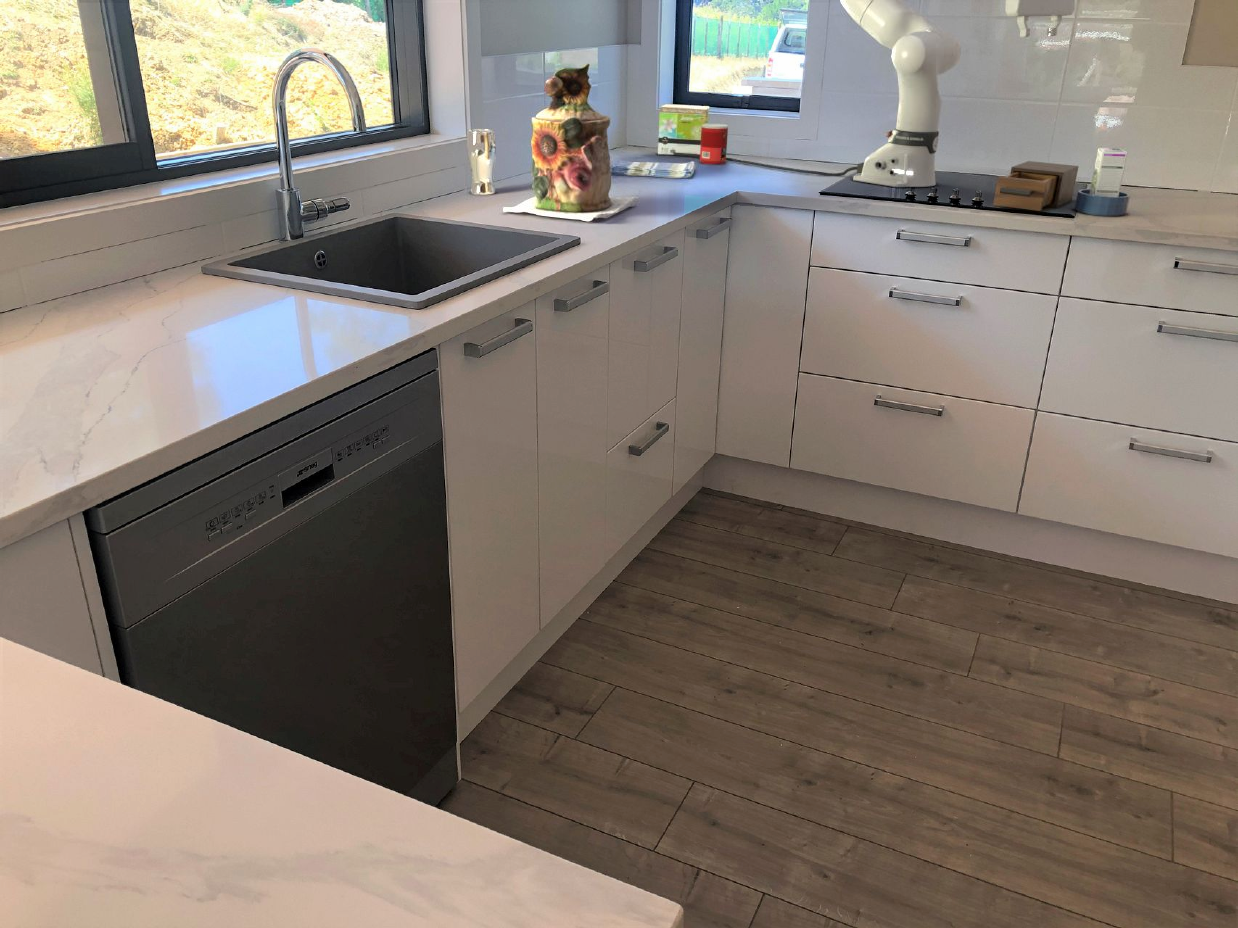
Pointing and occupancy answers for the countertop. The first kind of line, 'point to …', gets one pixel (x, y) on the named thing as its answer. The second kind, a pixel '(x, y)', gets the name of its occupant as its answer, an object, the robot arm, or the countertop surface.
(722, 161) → the canned food
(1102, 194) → the syrup box
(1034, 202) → the drawer
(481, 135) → the beer glass
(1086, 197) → the bowl
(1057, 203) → the cabinet
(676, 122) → the tea box
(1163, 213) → the countertop surface
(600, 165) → the cookie jar
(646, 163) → the dish towel
